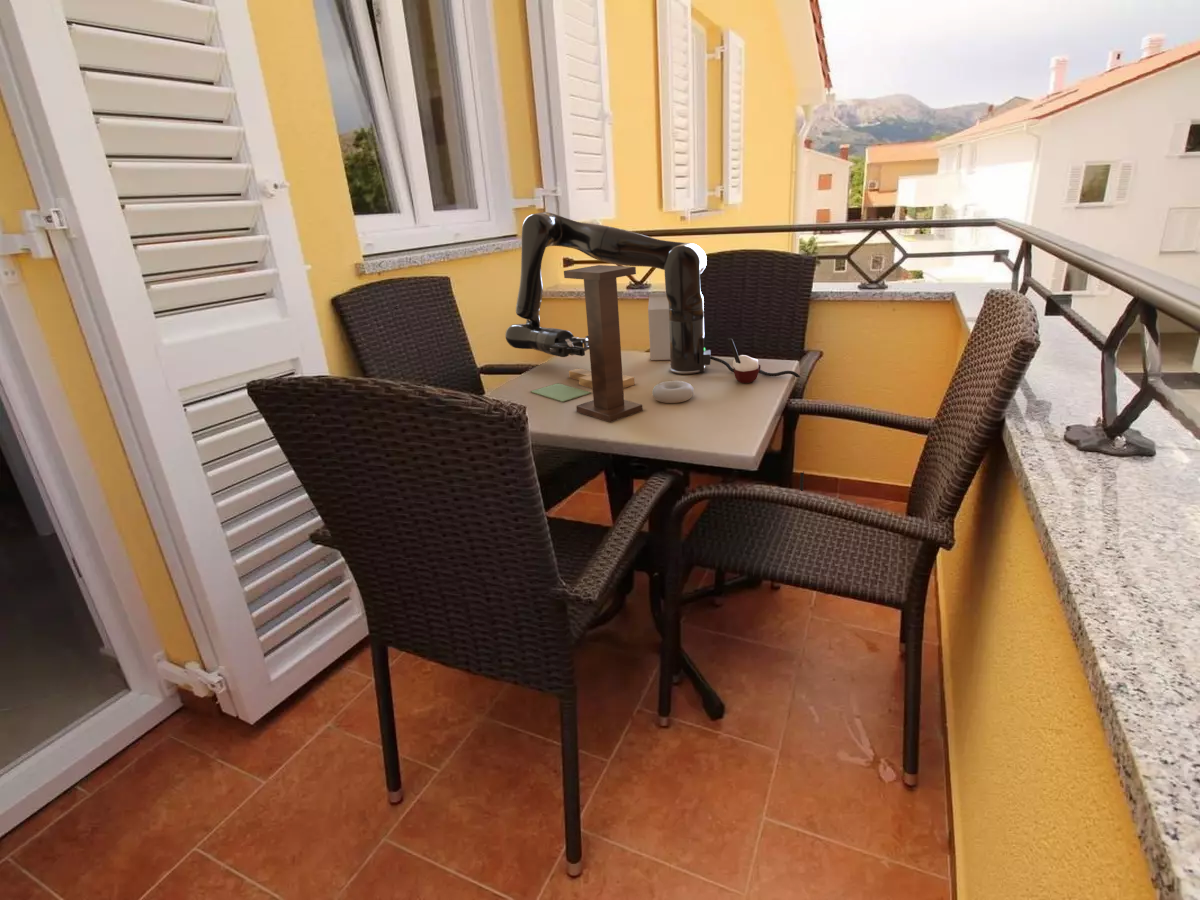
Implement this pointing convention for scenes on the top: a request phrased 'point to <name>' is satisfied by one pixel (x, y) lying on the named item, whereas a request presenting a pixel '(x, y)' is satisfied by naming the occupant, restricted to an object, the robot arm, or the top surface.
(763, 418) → the top surface
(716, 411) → the top surface
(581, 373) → the paddle
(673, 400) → the donut
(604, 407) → the stand
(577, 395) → the cloth
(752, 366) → the cocoa
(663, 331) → the milk carton
